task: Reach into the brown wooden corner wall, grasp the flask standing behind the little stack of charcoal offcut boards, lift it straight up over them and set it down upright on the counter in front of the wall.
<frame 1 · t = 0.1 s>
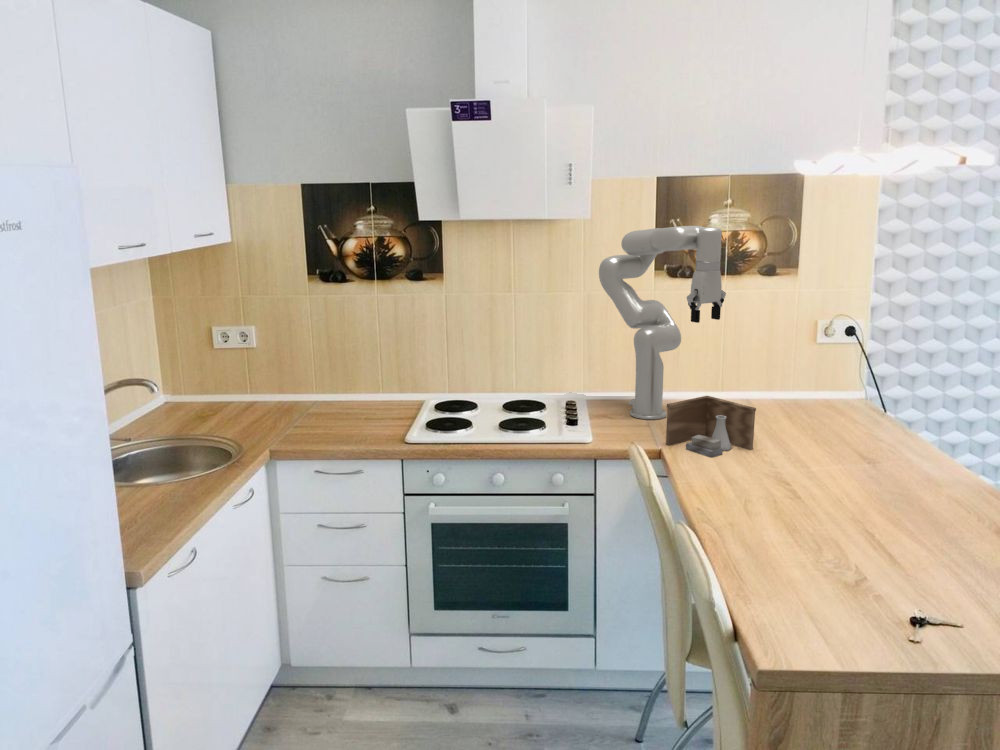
hand: (705, 320, 274), 37 cm above the worktop, tool pointing down, fingers open, 9 cm apart
flask: (719, 448, 264), on the worktop
offcut top: (705, 446, 260), point 2 cm above the worktop, touching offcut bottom
brown wooden corner wall: (710, 447, 265), on the worktop
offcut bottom: (703, 453, 260), on the worktop, touching offcut top
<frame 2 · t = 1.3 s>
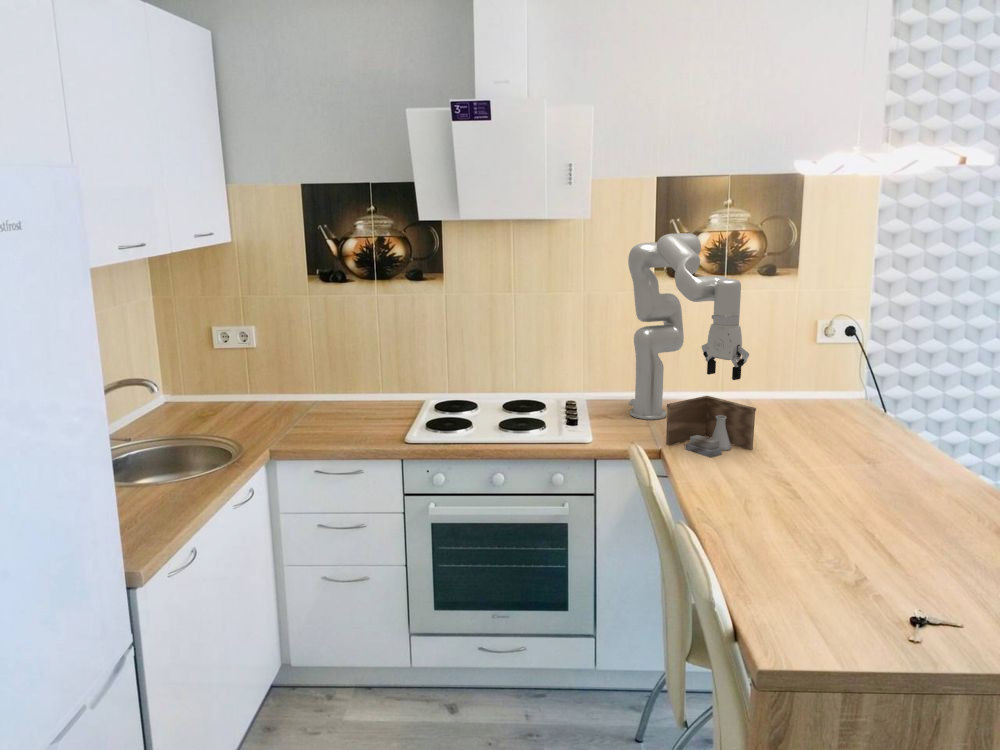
hand: (723, 376, 259), 22 cm above the worktop, tool pointing down, fingers open, 9 cm apart
nothing on the worktop moved.
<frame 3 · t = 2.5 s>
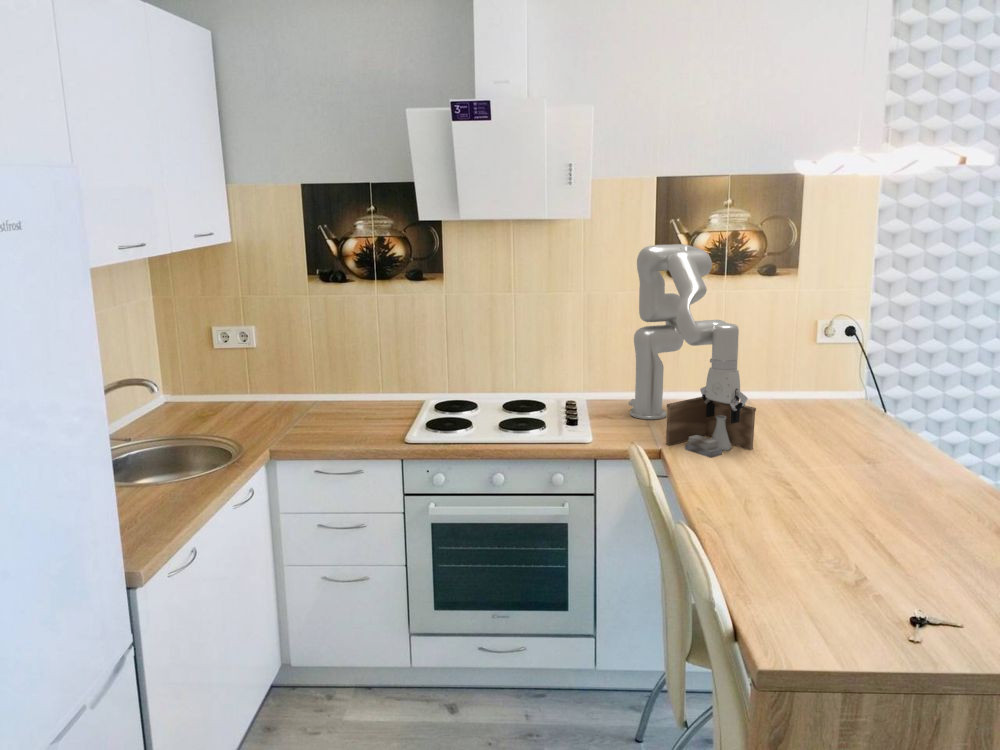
hand: (722, 419, 262), 9 cm above the worktop, tool pointing down, fingers open, 9 cm apart
nothing on the worktop moved.
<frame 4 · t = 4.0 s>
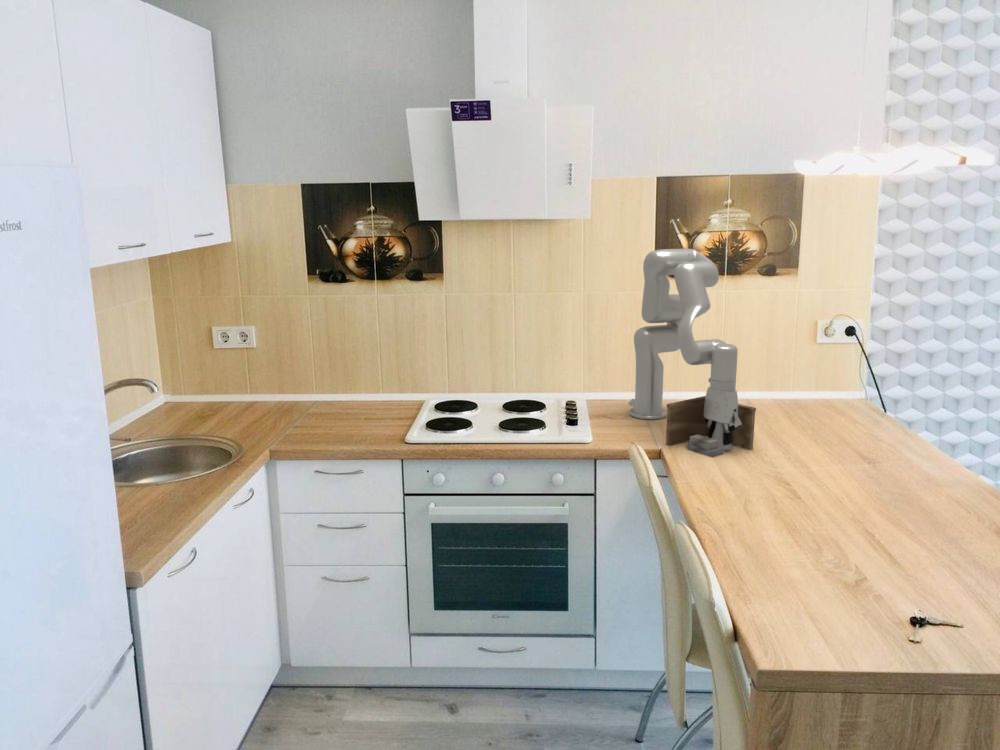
hand: (719, 441, 264), 2 cm above the worktop, tool pointing down, fingers closed on flask, 5 cm apart
flask: (719, 448, 264), on the worktop, touching gripper
everything else where it was.
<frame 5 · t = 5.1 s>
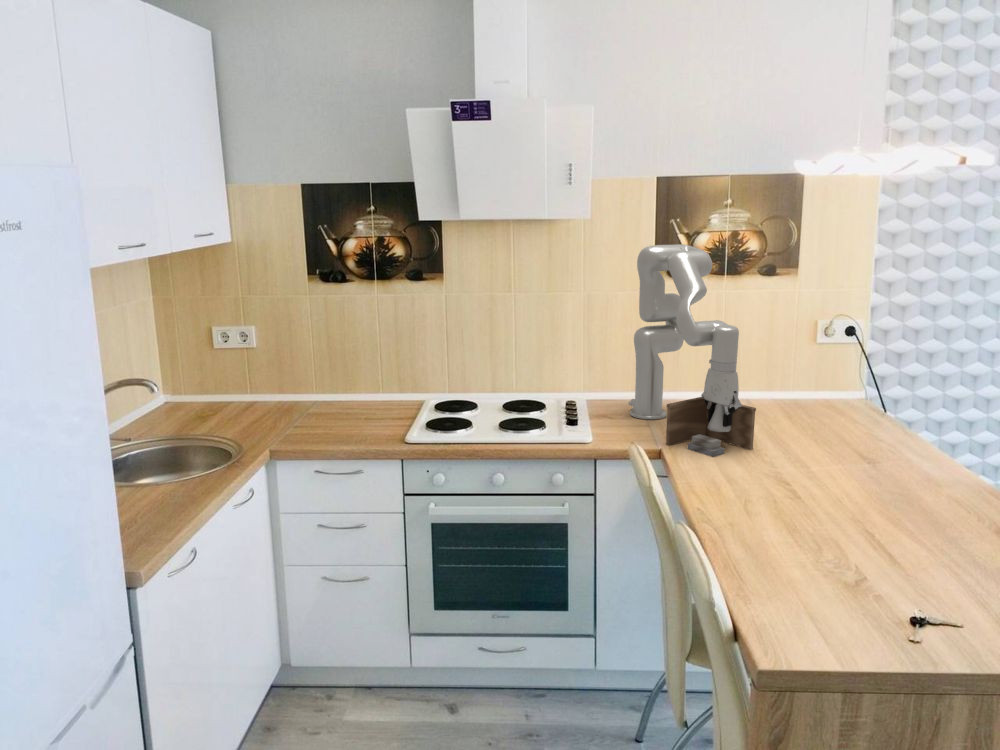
hand: (719, 423, 263), 8 cm above the worktop, tool pointing down, fingers closed on flask, 5 cm apart
flask: (719, 430, 264), point 5 cm above the worktop, touching gripper
everything else where it was.
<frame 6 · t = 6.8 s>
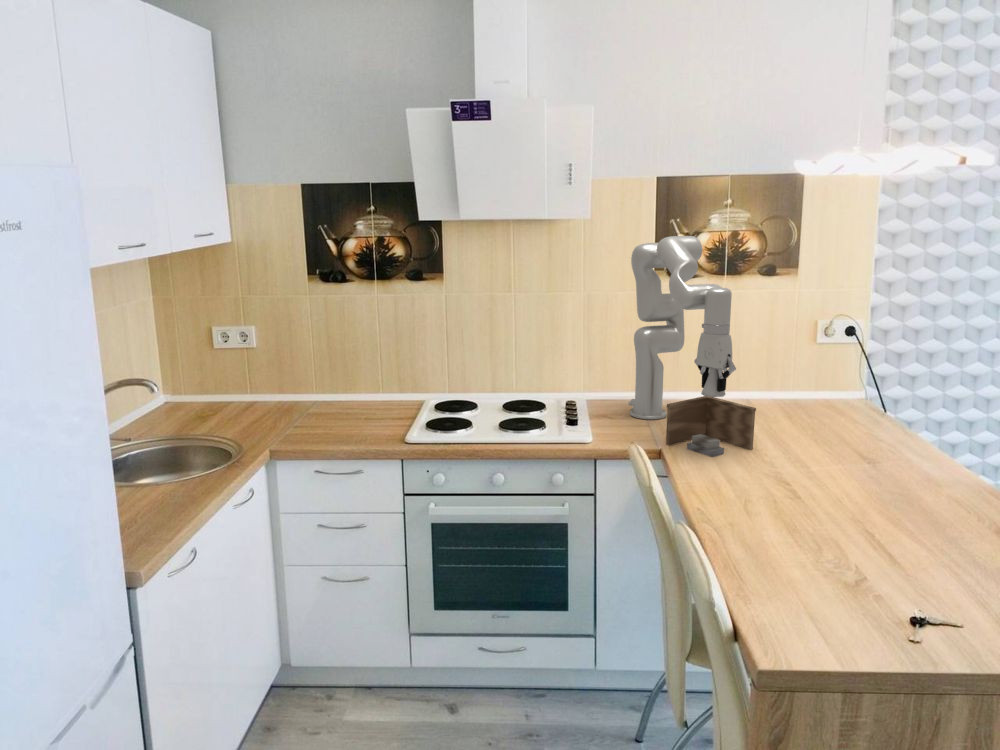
hand: (713, 388, 258), 19 cm above the worktop, tool pointing down, fingers closed on flask, 5 cm apart
flask: (713, 395, 258), point 17 cm above the worktop, touching gripper
everything else where it was.
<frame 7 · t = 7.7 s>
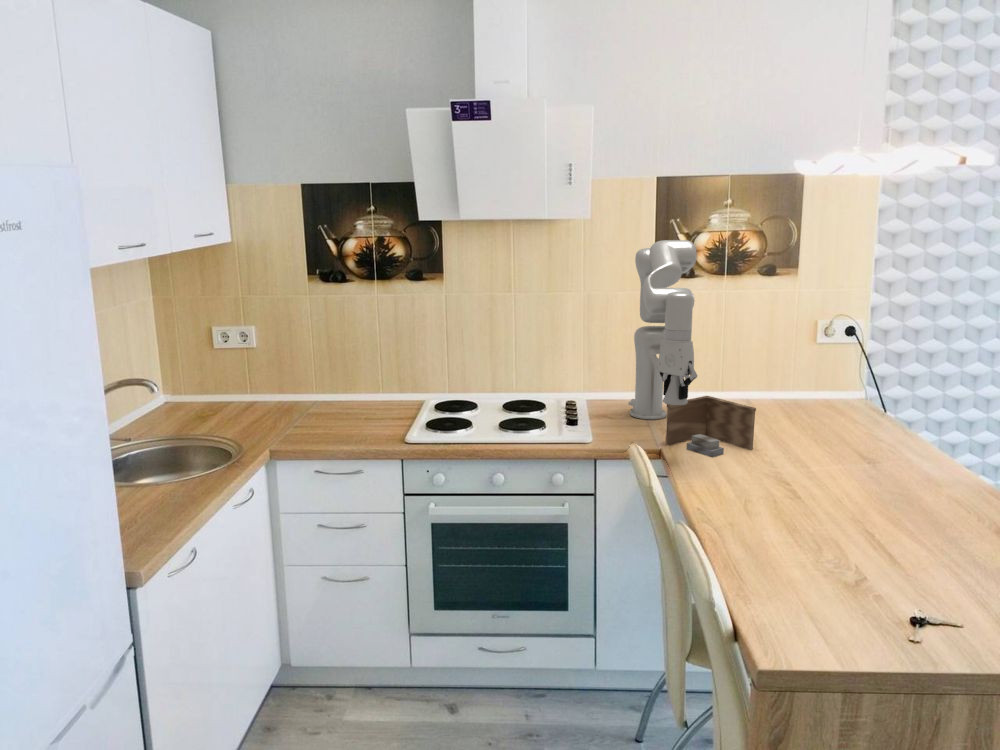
hand: (675, 396, 249), 19 cm above the worktop, tool pointing down, fingers closed on flask, 5 cm apart
flask: (675, 403, 249), point 17 cm above the worktop, touching gripper
everything else where it was.
when the fingers open (3 cm above the worktop, at t = 11.8 s): flask stays where it is, on the worktop.
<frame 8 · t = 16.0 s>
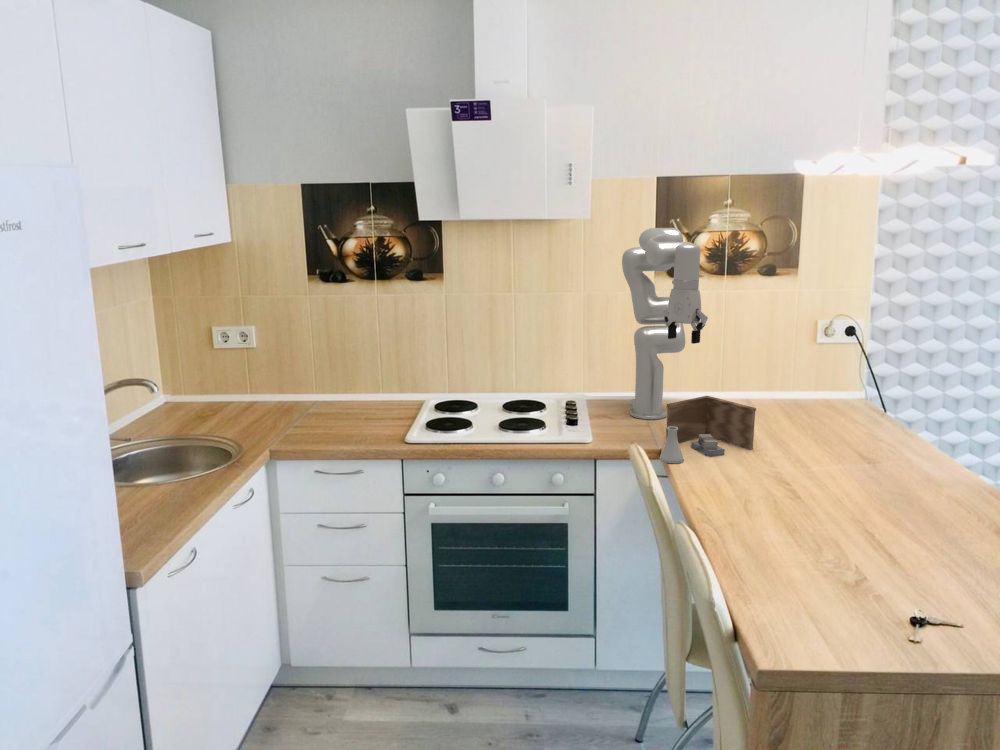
hand: (683, 340, 264), 32 cm above the worktop, tool pointing down, fingers open, 9 cm apart
flask: (671, 460, 253), on the worktop
at the end: flask inside the target area (0.2 cm from its centre), on the worktop; flask tilted 0°; offcut top moved 1.2 cm from its start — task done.
